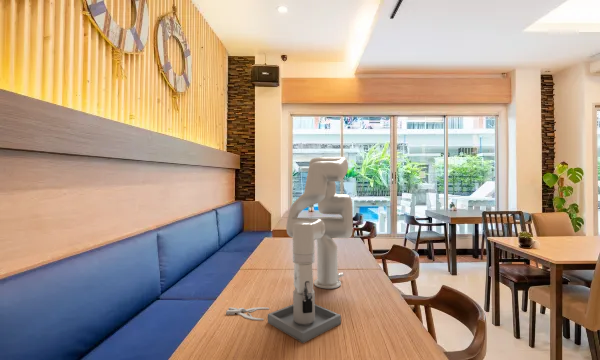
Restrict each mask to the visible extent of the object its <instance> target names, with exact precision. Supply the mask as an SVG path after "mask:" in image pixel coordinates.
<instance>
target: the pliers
mask: <svg viewBox="0 0 600 360" xmlns="http://www.w3.org/2000/svg"><path fill="white" fill-rule="evenodd" d="M259 310H270V308H269V307H262V306H261V307H251V308H247V309H246V308H245V307H239V308H237V307H228V310H226V309H225V314H226V315H229V314H230V315H234V316H235V313H236V314H237V315H239V316H242V317H243V318H244V319H247V320H250V321H251V320H252V321H264V318H261V317H254V316H252V315H251V313H254V312H256V311H259ZM246 313H247V314H246Z"/></svg>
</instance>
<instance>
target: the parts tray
mask: <svg viewBox="0 0 600 360" xmlns="http://www.w3.org/2000/svg"><path fill="white" fill-rule="evenodd" d="M267 324H269V325H271V326H272V327H274V328H276V329H278V330H279V331H281V332H283V333H284V334H287V335H288V336H290V337H292V338H294V339H295V340H297V341H299V342H300V343H302V344H304V343H306V342H308V341H311V340H312V339H314V338H315V337H317V336H320V335H322V334H323V333H326V332H327V331H329V330H331V329H333V328H335V327H338V326H339V325H341V324H342V315H341V314H340V313H337V312H334V311H332V310H330V309H328V308H325V307H324V306H322V305H321V306H320V305H318V304H316V303H315V320H314V321H313V322H312V323H311V324H309V325H300V324H297V323H296V322H295V321H294V315H293V304H291V305H287V306H285V307H283V308H280V309H278V310H274V311H273V312H269V313H267Z"/></svg>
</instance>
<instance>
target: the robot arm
mask: <svg viewBox="0 0 600 360" xmlns="http://www.w3.org/2000/svg"><path fill="white" fill-rule="evenodd" d="M308 164H309V166H308V170H307V173H306V174H307V176H306V180H305V181H306V182H305V187H304V192H303V194H301V195H300V196H299V197H297V199H296V200H295V201H294V202H293V203H292V205H291V206H290V208H289V211H288V216H287V221H286V225H285V226H286V229H285V230H286V234H287V235H288V237H289V238H292V263H293V264H294V268H293V286H294V288H295V287H296V289H297V292H298V293H299V294H301V293H302V294H303V300H304V301H303V313H312V292H313V290H314V286H315V287H317V288H319V289H325V290H326V289H327V290H330V289H331V290H332V289H336V288H337V289H338V288H339V287H341V285H342V282H341V280H340V278H342V277H344V272H343V271H342V272H339V271H338V269H339V266H338V246H337V243H336V242H335V240H334V239H344V240H345V239H349V238H352V235H353V230H354V227H353V225H354V223H353V221H354V220H353V219H354V218H353V213H354V212H353V200H352V198H351V196H350V195H349V194H342V193H341V194H338V193H337V184H336V183H337V182H341V181H342V180H344V178H345V176H346V175H347V173H348V170H349V162H348V159H347V158H346V157H345V156H320V157H314V158H312V159H310V161H309V163H308ZM316 204H317V208H318V209H317V210H318V211H319V213H320V214H322V215H330V216H331V215H332V216H331V217H330V216H322V217H319V218H314V217H313V218H312V217H311V218H310V217H309V218H308V217H299V216H300V213H301V212H302V211H304V210H305V209H307V208H309V207H311V206H313V205H316ZM334 215H336V216H341V217H335V216H334ZM333 216H334V217H333ZM315 240H316V244H317V245H316V255H315ZM315 256H316V257H317V258H315ZM315 259H317V260H316V261H315ZM315 262H317V267H316V268H317V269H316V272H317V273H316V276H317V278H316V279H315V280H314V274H313V264H314V263H315ZM338 272H339V273H338ZM306 290H307V291H306ZM305 294H307V295H306V297H305Z"/></svg>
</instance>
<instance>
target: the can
mask: <svg viewBox="0 0 600 360" xmlns="http://www.w3.org/2000/svg"><path fill="white" fill-rule="evenodd" d="M306 291H307V290H306ZM315 293H316V292H315V290H314V289H313V292H312V313H303V301H304V300H303V294H302V293H301V294H299V293H298V292H297V289H296V287H294V290H293V292H292V296H293V298H292V299H293V300H292V301H293V304H292V305H293V315H294V321H295V322H296V323H297V324H300V325H309V324H311V323H312V322H313V321H314V320H315V304H316V299H315V297H316V296H315V295H316V294H315ZM306 295H307V294H305V297H306Z"/></svg>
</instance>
